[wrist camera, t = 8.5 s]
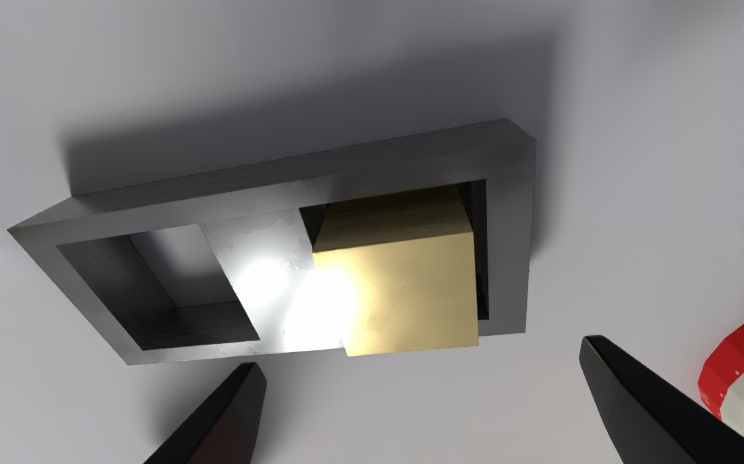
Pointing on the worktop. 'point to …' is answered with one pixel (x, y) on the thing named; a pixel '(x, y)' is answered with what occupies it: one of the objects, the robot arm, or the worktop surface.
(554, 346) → the worktop surface
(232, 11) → the worktop surface
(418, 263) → the brass cuboid
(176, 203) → the grey flat block
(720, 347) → the kitchen timer
